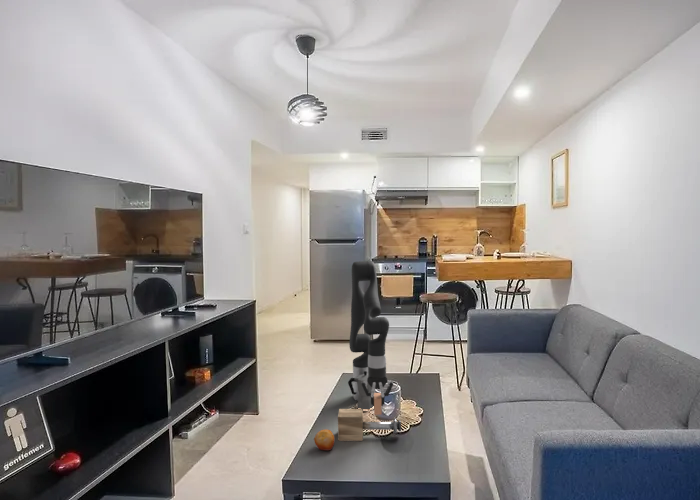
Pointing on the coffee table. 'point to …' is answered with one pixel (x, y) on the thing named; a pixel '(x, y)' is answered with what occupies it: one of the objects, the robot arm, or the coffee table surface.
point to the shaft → (382, 425)
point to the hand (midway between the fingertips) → (377, 405)
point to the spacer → (377, 404)
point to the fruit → (324, 440)
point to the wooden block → (350, 425)
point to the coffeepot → (361, 391)
